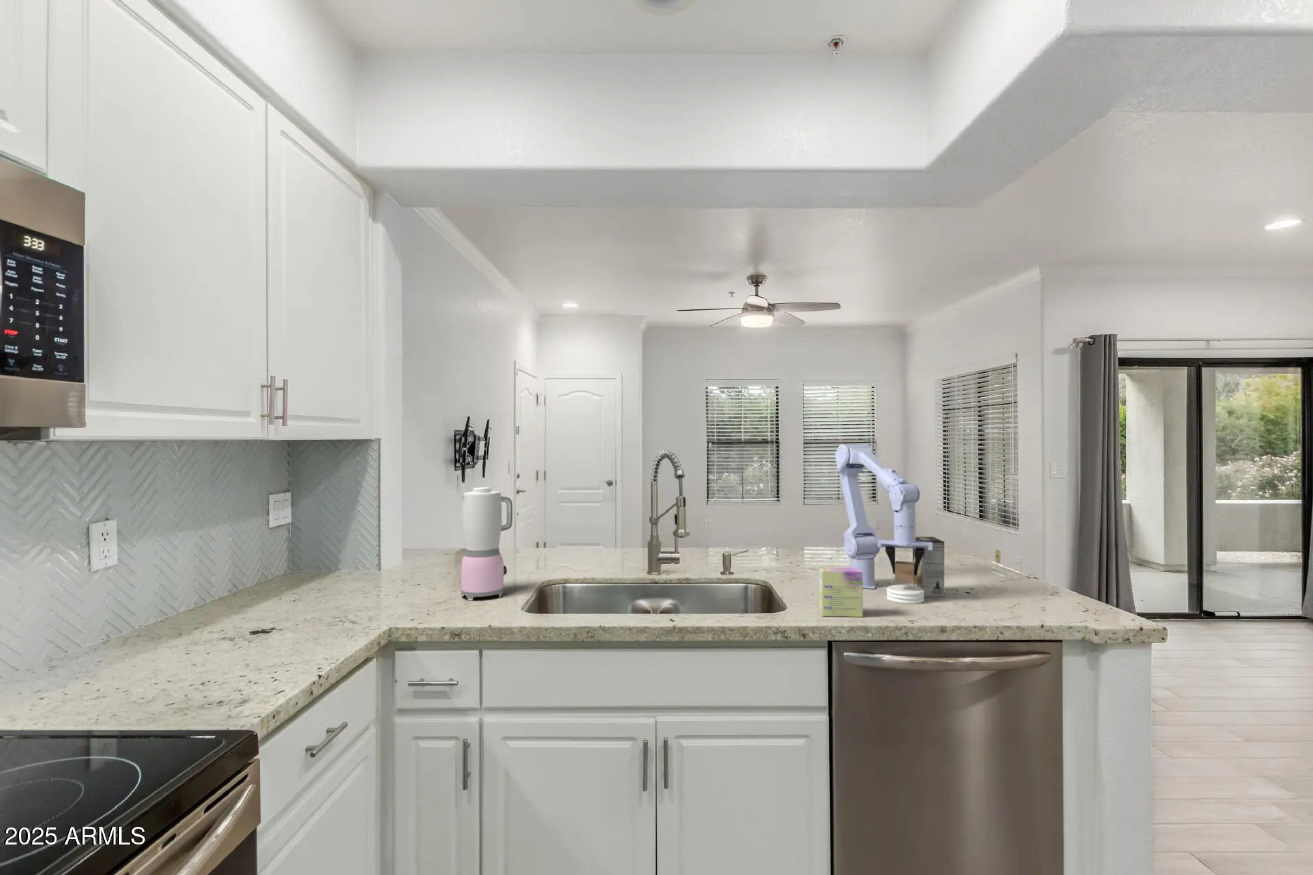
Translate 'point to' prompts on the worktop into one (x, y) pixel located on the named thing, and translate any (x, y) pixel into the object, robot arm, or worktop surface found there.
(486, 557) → the blender
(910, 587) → the white round dish
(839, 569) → the box
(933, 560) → the coffee box
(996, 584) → the worktop surface
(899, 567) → the walnut block
